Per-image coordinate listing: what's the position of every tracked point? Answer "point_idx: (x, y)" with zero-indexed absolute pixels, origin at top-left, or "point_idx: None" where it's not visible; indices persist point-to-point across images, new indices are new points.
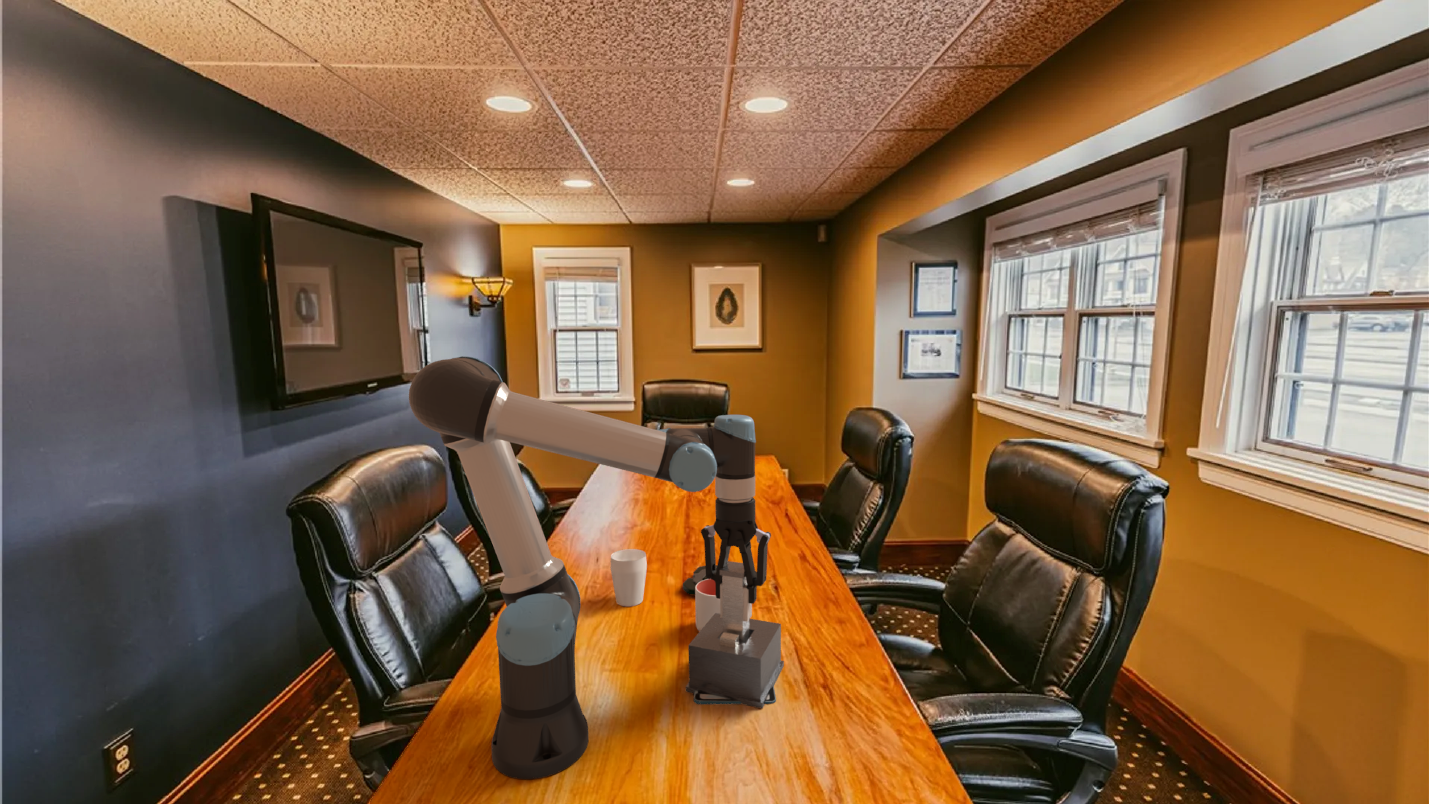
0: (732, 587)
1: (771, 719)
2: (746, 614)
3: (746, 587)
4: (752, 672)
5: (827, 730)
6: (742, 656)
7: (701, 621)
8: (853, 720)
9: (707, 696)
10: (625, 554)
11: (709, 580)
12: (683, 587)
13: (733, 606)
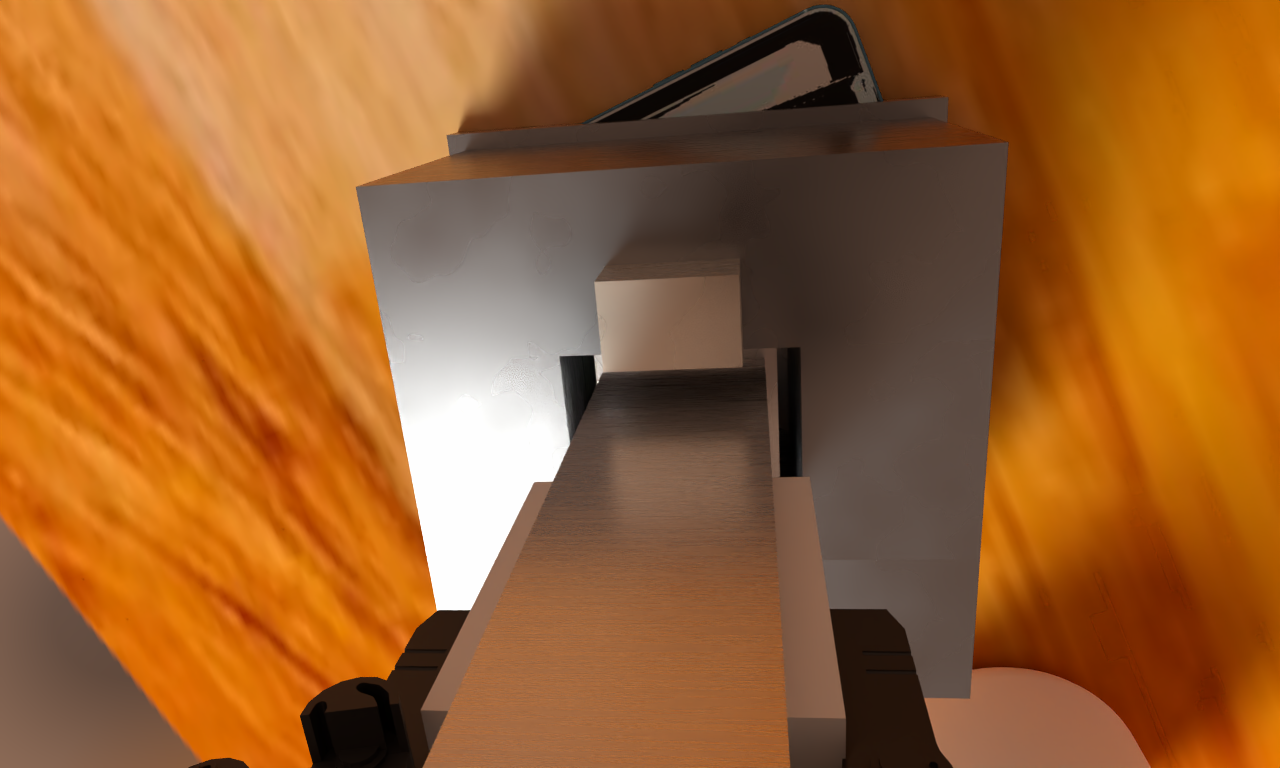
0: (620, 678)
1: (376, 60)
2: (526, 515)
3: (397, 698)
4: (461, 166)
5: (104, 98)
6: (505, 176)
7: (1094, 729)
8: (45, 230)
9: (779, 79)
10: None
11: None
12: None
13: (640, 524)
